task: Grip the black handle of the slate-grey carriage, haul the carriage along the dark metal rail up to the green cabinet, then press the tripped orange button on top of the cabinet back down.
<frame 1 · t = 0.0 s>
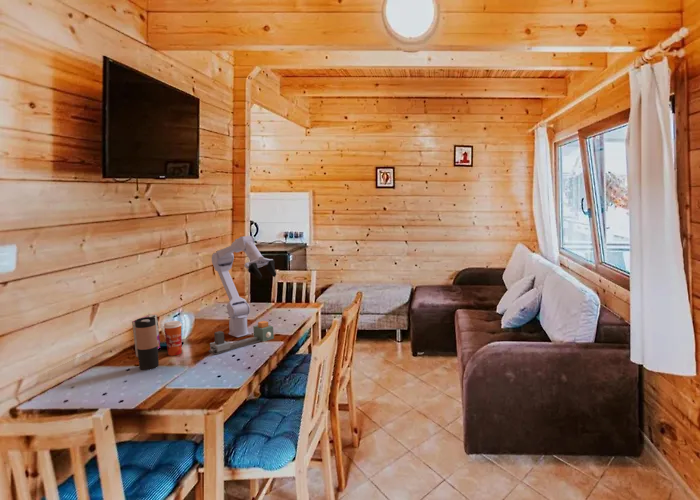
hand: (268, 276, 194), 32 cm above the table, tool tilted 50°, fingers open, 7 cm apart
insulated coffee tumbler: (148, 353, 194), on the table
carriage: (219, 340, 193), point 5 cm above the table, slide at 0.0 cm
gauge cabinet: (263, 338, 210), on the table
paper cup: (175, 353, 193), on the table
rail: (235, 346, 199), on the table
reset button: (263, 325, 209), point 6 cm above the table, slide at 0.0 cm
travel mug: (149, 367, 177), on the table
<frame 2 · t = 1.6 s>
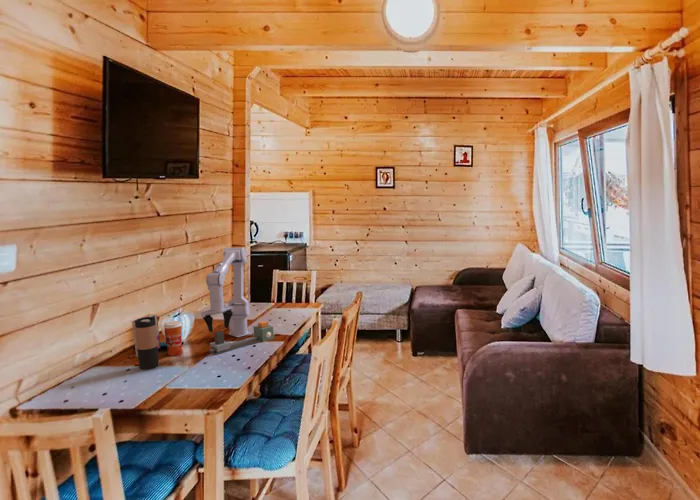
hand: (218, 329, 193), 10 cm above the table, tool pointing down, fingers open, 7 cm apart
nothing on the table moved.
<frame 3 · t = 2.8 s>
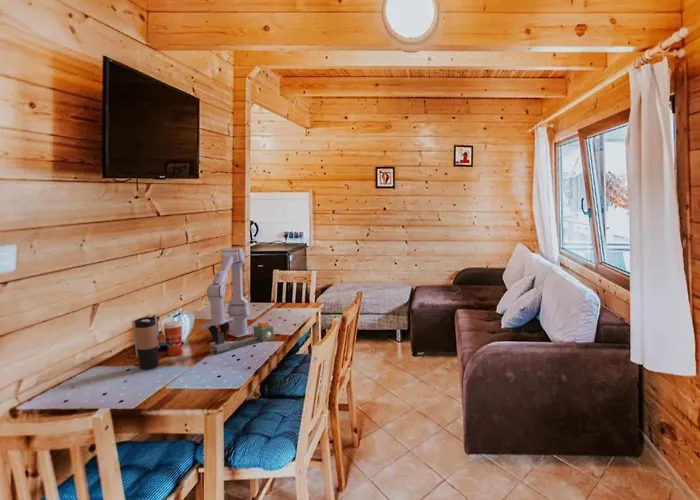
hand: (219, 341, 193), 5 cm above the table, tool pointing down, fingers closed on carriage, 3 cm apart
carriage: (219, 340, 193), point 5 cm above the table, slide at 0.0 cm, touching gripper
everything else where it was.
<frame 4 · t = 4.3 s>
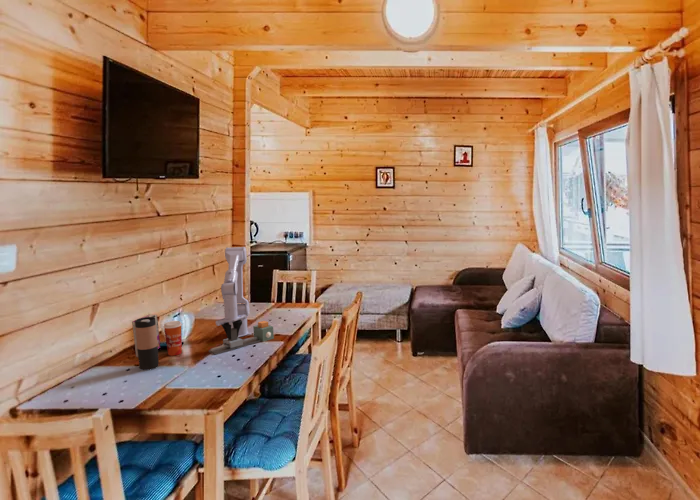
hand: (232, 337, 198), 5 cm above the table, tool pointing down, fingers closed on carriage, 3 cm apart
carriage: (232, 336, 198), point 5 cm above the table, slide at 6.5 cm, touching gripper
everything else where it was.
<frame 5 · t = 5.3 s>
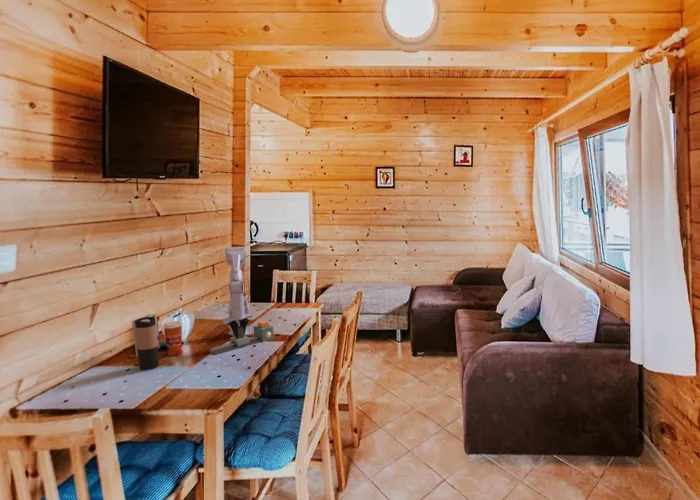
hand: (239, 335, 200), 5 cm above the table, tool pointing down, fingers closed on carriage, 3 cm apart
carriage: (239, 335, 200), point 5 cm above the table, slide at 10.0 cm, touching gripper
everything else where it was.
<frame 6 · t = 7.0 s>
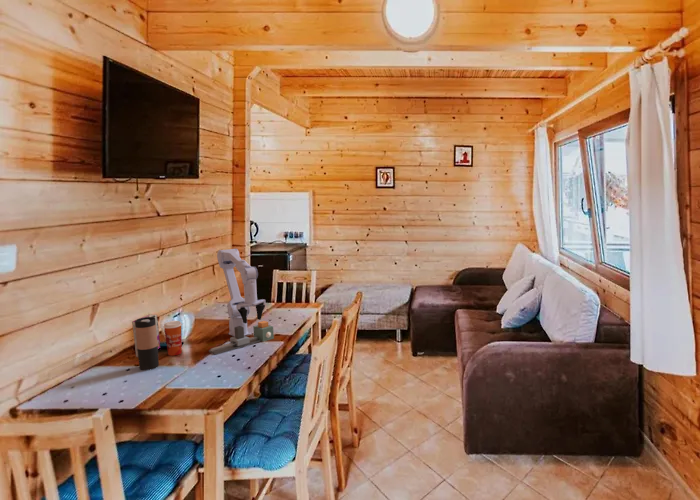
hand: (252, 321, 205), 10 cm above the table, tool pointing down, fingers open, 7 cm apart
carriage: (239, 335, 200), point 5 cm above the table, slide at 10.0 cm
everything else where it was.
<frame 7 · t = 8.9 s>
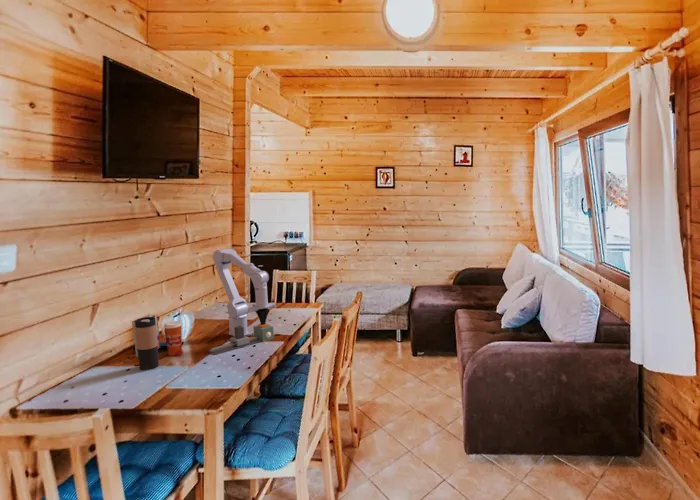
hand: (263, 324, 209), 7 cm above the table, tool pointing down, fingers closed, pressing on reset button
reset button: (263, 327, 209), point 5 cm above the table, slide at 1.0 cm, touching gripper
everything else where it was.
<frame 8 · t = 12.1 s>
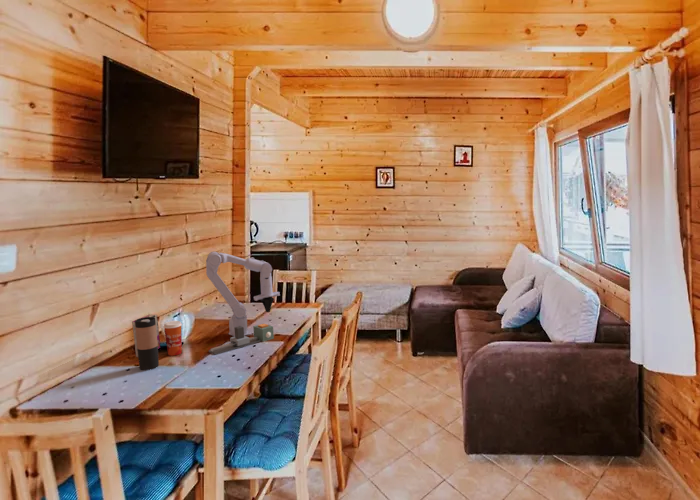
hand: (267, 311, 221), 10 cm above the table, tool pointing down, fingers closed
reset button: (263, 328, 209), point 5 cm above the table, slide at 1.4 cm
everything else where it was.
at the end: carriage slide at 10.0 cm; reset button slide at 1.4 cm; the gripper is holding nothing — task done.
